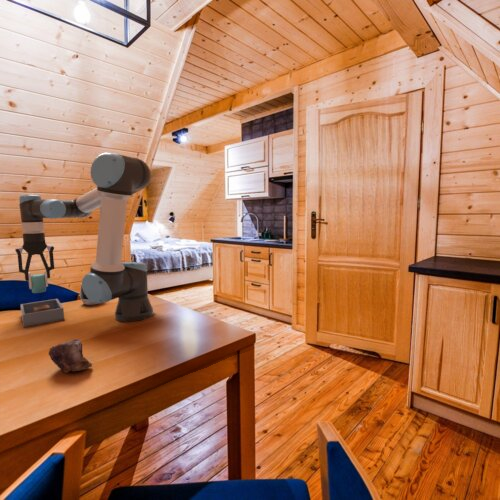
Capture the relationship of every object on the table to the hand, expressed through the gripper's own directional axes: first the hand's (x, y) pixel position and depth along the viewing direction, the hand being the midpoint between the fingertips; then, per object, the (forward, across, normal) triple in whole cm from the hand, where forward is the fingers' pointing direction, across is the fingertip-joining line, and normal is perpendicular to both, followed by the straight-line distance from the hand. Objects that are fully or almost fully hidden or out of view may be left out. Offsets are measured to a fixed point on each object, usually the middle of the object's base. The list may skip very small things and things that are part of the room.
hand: (38, 287), depth 133 cm
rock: (+13, -2, +61) cm, 62 cm away
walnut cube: (+12, 0, +8) cm, 14 cm away
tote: (+12, 0, +4) cm, 13 cm away
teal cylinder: (+2, 0, 0) cm, 2 cm away
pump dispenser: (+13, -21, -4) cm, 25 cm away
